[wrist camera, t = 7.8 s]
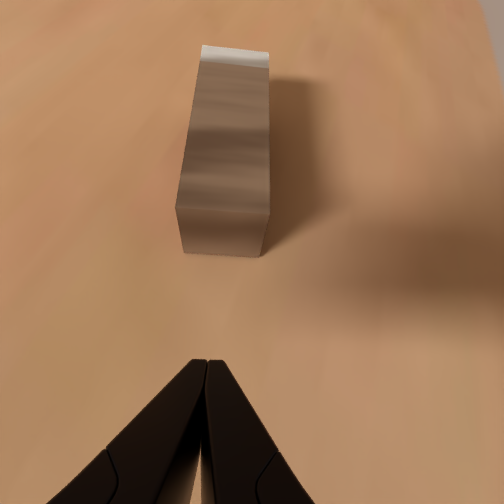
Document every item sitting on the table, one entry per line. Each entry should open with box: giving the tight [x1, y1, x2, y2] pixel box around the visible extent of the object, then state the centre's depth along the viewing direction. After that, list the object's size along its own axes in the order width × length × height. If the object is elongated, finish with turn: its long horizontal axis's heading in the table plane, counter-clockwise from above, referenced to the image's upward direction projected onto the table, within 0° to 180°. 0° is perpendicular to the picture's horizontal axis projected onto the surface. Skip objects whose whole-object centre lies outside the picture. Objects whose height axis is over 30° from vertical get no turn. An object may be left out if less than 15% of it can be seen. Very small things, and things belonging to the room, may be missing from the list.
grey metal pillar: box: [175, 45, 270, 258], centre depth 23 cm, size 5×5×15 cm
